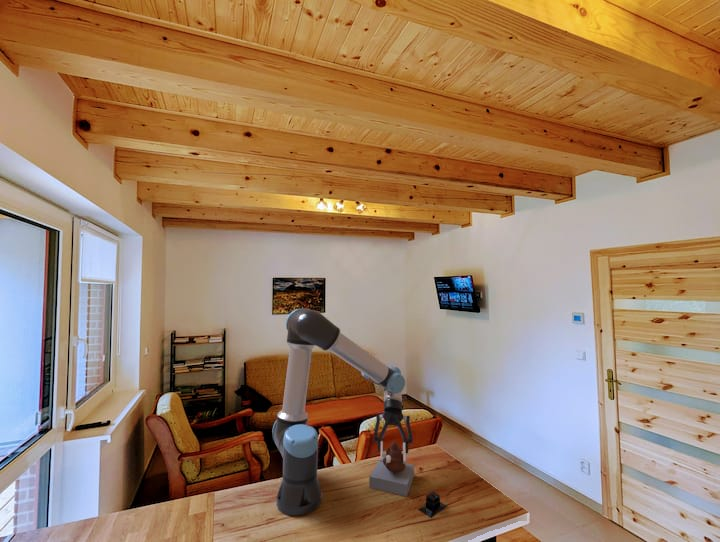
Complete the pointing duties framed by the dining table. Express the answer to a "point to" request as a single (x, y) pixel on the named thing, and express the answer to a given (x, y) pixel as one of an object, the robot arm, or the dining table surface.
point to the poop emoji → (393, 458)
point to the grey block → (391, 479)
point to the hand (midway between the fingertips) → (392, 461)
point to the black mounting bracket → (432, 505)
